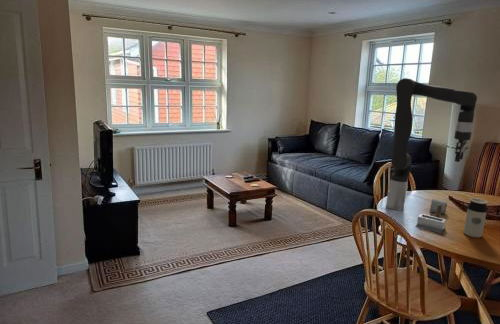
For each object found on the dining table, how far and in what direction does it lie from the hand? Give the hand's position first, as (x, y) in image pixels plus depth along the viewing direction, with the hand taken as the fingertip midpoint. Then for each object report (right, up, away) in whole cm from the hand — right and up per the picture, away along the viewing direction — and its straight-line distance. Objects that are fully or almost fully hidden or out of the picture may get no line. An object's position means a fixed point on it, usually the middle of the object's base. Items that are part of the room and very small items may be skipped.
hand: (458, 160), depth 195 cm
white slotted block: (-18, -34, -6) cm, 39 cm away
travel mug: (-1, -37, -14) cm, 40 cm away
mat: (-18, -35, -6) cm, 39 cm away
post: (-10, -33, +3) cm, 35 cm away
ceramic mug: (-3, -30, +17) cm, 35 cm away
